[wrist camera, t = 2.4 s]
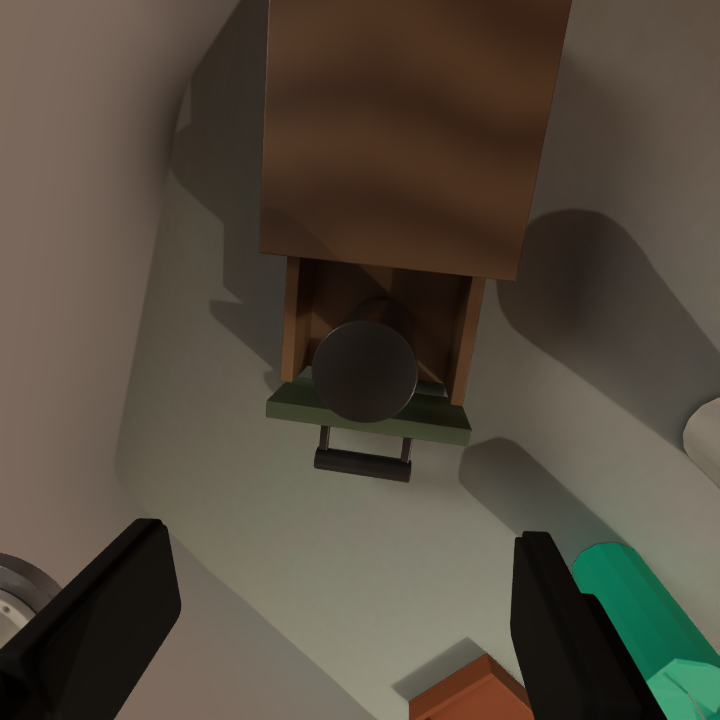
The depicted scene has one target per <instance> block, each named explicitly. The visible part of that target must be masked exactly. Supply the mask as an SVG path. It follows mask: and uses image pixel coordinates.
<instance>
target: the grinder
mask: <svg viewBox="0 0 720 720" xmlns="http://www.w3.org/2000/svg"><path fill="white" fill-rule="evenodd" d="M312 379H313V383H314V387H315V389H316V392H317V394H318V395H319V397H320V399H321V400H322V401H323V403H324V404H325V405H326V406H327V407H328V408H329V409H330V410H331V411H333V412H334V413H335V414H337V415H338V416H340V417H342V418H344V419H347V420H350V421H353V422H358V423H374V422H380V421H383V420H386V419H388V418H390V417H392V416H394V415H396V414H397V413H398V412H400V411H401V410H402V409H403V408H404V407H405V406H406V405H407V404H408V402H409V401H410V400H411V398H412V396H413V394H414V392H415V389H416V386H417V381H418V363H417V355H416V347H415V339H414V331H413V324H412V320H411V317H410V315H409V313H408V311H407V310H406V309H405V307H404V306H403V305H401V304H400V303H399V302H397V301H395V300H393V299H391V298H387V297H374V298H370V299H367V300H365V301H363V302H362V303H360V304H359V305H358V306H357V307H356V308H355V309H354V310H353V311H352V312H351V313H350V314H348V315H347V316H346V317H345V318H344V319H343V320H342V321H341V322H340V323H339V324H338V325H337V326H336V327H334V328H333V329H332V330H331V331H330V332H329V333H328V334H327V335H326V336H325V337H324V338H323V339H322V341H321V342H320V344H319V345H318V347H317V349H316V351H315V354H314V357H313V361H312Z"/></svg>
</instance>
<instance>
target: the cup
mask: <svg viewBox="0 0 720 720" xmlns="http://www.w3.org/2000/svg"><path fill="white" fill-rule="evenodd" d="M683 445H684V449H685V451H686V453H687V454H688V456H689V458H690V460H691V461H692V462H693V463H694V464H695V465H696V466H697V467H698V468H699V469H700V470H701V471H702V472H703V473H704V474H705V475H706V476H707V477H708V478H709V479H710V480H711V481H712V482H713V483H714V484H715V485H716V486H717V487H718V488H719V489H720V398H717V399H715V400H713V401H710V402H708V403H706V404H704V405H702V406H701V407H700V408H699V409H698V410H697V411H696V412H695V413H694V414H693V415H692V416H691V417H690V418H689V420H688V422H687V425H686V427H685V429H684V432H683Z"/></svg>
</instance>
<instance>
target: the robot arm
mask: <svg viewBox="0 0 720 720" xmlns="http://www.w3.org/2000/svg"><path fill="white" fill-rule="evenodd" d="M180 611H181V599H180V594H179V588H178V583H177V577H176V572H175V566H174V561H173V556H172V550H171V545H170V539H169V534H168V529H167V527H166V525H163V523H162V521H161V520H160V519H143V518H139V519H136V520H135V521H134V522H133V523H132V524H131V525H130V526H128V527H127V529H125V530H124V531H123V532H122V533H121V534H120V535H119V536H118V537H117V538H116V539H115V540H114V541H113V542H112V543H111V544H110V545H109V546H108V547H106V548H105V549H104V550H103V551H102V552H101V553H100V554H99V555H98V556H97V557H96V558H95V559H94V560H93V561H92V562H91V563H90V564H89V565H88V566H87V567H86V568H85V569H84V570H82V571H81V572H80V573H79V574H78V575H77V576H76V577H75V578H74V579H73V580H72V581H71V582H70V583H69V584H68V585H67V586H66V587H65V588H64V589H63V590H61V591H60V592H59V593H58V594H57V595H56V596H55V597H54V598H53V599H52V600H51V601H50V602H49V603H48V604H47V605H46V606H45V607H44V608H43V609H42V610H41V611H40V612H38V613H37V614H35V613H34V612H33V611H32V609H31V608H30V607H29V606H27V605H26V604H25V603H24V602H23V601H21V600H20V599H18V598H17V597H15V596H14V595H12V594H10V593H8V592H6V591H3V590H1V589H0V720H114V718H115V717H116V715H117V714H118V712H119V711H120V709H121V707H122V706H123V704H124V703H125V701H126V700H127V698H128V696H129V695H130V693H131V692H132V690H133V689H134V687H135V685H136V684H137V682H138V681H139V679H140V678H141V676H142V674H143V673H144V671H145V670H146V668H147V667H148V665H149V663H150V662H151V660H152V659H153V657H154V656H155V654H156V652H157V651H158V649H159V647H160V646H161V645H162V643H163V641H164V640H165V638H166V637H167V635H168V634H169V632H170V630H171V629H172V627H173V626H174V624H175V623H176V621H177V619H178V617H179V615H180ZM510 630H511V637H512V641H513V645H514V649H515V652H516V656H517V659H518V663H519V666H520V670H521V673H522V677H523V681H524V684H525V688H526V691H527V695H528V698H529V702H530V705H531V709H532V712H533V716H534V720H668V719H667V718H666V716H665V714H664V712H663V711H662V709H661V707H660V705H659V704H658V702H657V700H656V698H655V697H654V695H653V693H652V691H651V690H650V688H649V686H648V684H647V683H646V681H645V679H644V677H643V676H642V674H641V672H640V671H639V669H638V667H637V665H636V664H635V662H634V660H633V658H632V657H631V655H630V653H629V651H628V650H627V648H626V646H625V644H624V643H623V641H622V639H621V637H620V636H619V634H618V632H617V630H616V629H615V627H614V625H613V623H612V622H611V620H610V618H609V616H608V615H607V613H606V611H605V609H604V608H603V606H602V604H601V603H600V601H599V600H598V598H597V597H596V596H595V595H594V594H589V593H581V592H580V590H579V588H578V586H577V584H576V582H575V581H574V579H573V577H572V575H571V573H570V571H569V569H568V567H567V566H566V564H565V562H564V560H563V558H562V556H561V554H560V552H559V550H558V549H557V547H556V545H555V543H554V541H553V539H552V537H551V535H550V534H549V533H548V532H535V531H524V532H523V534H522V537H516V538H515V547H514V564H513V582H512V600H511V617H510Z"/></svg>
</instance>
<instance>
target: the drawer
mask: <svg viewBox="0 0 720 720" xmlns="http://www.w3.org/2000/svg"><path fill="white" fill-rule="evenodd" d="M485 280H486V278H481V277H472V276H463V275H454V274H445V273H436V272H427V271H418V270H409V269H400V268H391V267H382V266H373V265H364V264H355V263H345V262H336V261H327V260H318V259H309V258H300V257H291V256H288V259H287V276H286V294H285V311H284V329H283V346H282V364H281V381H284V382H285V383H284V384H283V385H282V386H281V387H280V388H279V389H278V390H277V391H276V392H275V393H274V394H273V395H272V396H271V397H270V398H269V399H268V400H267V403H266V417H269V418H276V419H283V420H290V421H297V422H304V423H311V424H317V425H321V432H320V444H319V447H317V450H316V453H315V458H314V468H316V469H322V470H329V471H335V472H342V473H348V474H355V475H361V476H368V477H374V478H381V479H387V480H394V481H400V482H407V483H408V482H409V480H410V474H411V460H409V458H410V452H411V445H412V439H413V438H414V439H421V440H428V441H435V442H442V443H449V444H456V445H463V446H469V443H470V437H471V432H472V429H471V427H470V424H469V422H468V419H467V417H466V414H465V412H464V409H463V406H462V405H463V401H464V396H465V390H466V385H467V379H468V374H469V368H470V363H471V357H472V352H473V346H474V341H475V335H476V330H477V324H478V319H479V313H480V308H481V302H482V297H483V291H484V286H485ZM374 297H387V298H391V299H393V300H395V301H397V302H399V303H400V304H401V305H403V306H404V307H405V309H406V310H407V311H408V313H409V315H410V317H411V320H412V324H413V331H414V339H415V347H416V355H417V363H418V380H422V381H429V382H437V383H444V386H445V389H446V392H447V395H448V398H447V397H440V396H433V395H425V394H418V393H414V394H413V396H412V398H411V400H410V401H409V402H408V404H407V405H406V406H405V407H404V408H403V409H402V410H401V411H400V412H398V413H397V414H396V415H394V416H392V417H390V418H388V419H386V420H383V421H380V422H374V423H358V422H353V421H350V420H347V419H344V418H342V417H340V416H338V415H337V414H335V413H334V412H333V411H331V410H330V409H329V408H328V407H327V406H326V405H325V404H324V403H323V401H322V400H321V399H320V397H319V395H318V394H317V392H316V389H315V387H314V383H313V379H307V378H300V377H297V376H298V375H299V374H300V373H301V372H302V371H303V370H304V369H305V368H306V367H307V366H308V365H309V366H312V361H313V357H314V354H315V351H316V349H317V347H318V345H319V344H320V342H321V341H322V339H323V338H324V337H325V336H326V335H327V334H328V333H329V332H330V331H331V330H332V329H333V328H334V327H336V326H337V325H338V324H339V323H340V322H341V321H342V320H343V319H344V318H345V317H346V316H347V315H348V314H350V313H351V312H352V311H353V310H354V309H355V308H356V307H357V306H358V305H359V304H360V303H362V302H363V301H365V300H367V299H370V298H374ZM330 426H331V427H338V428H345V429H352V430H359V431H366V432H373V433H380V434H387V435H393V436H400V437H404V439H403V445H402V452H401V459H399V458H393V457H386V456H379V455H372V454H366V453H359V452H352V451H346V450H339V449H332V448H328V445H329V434H330Z"/></svg>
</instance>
